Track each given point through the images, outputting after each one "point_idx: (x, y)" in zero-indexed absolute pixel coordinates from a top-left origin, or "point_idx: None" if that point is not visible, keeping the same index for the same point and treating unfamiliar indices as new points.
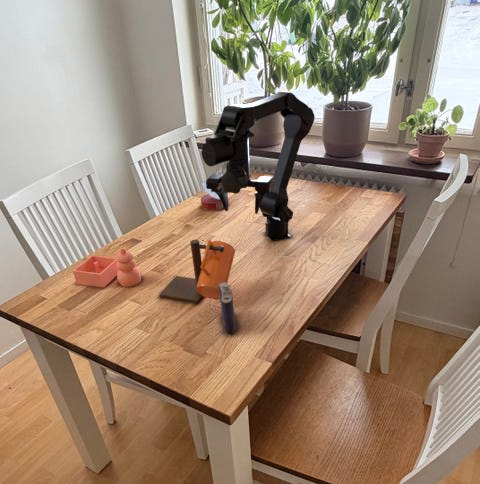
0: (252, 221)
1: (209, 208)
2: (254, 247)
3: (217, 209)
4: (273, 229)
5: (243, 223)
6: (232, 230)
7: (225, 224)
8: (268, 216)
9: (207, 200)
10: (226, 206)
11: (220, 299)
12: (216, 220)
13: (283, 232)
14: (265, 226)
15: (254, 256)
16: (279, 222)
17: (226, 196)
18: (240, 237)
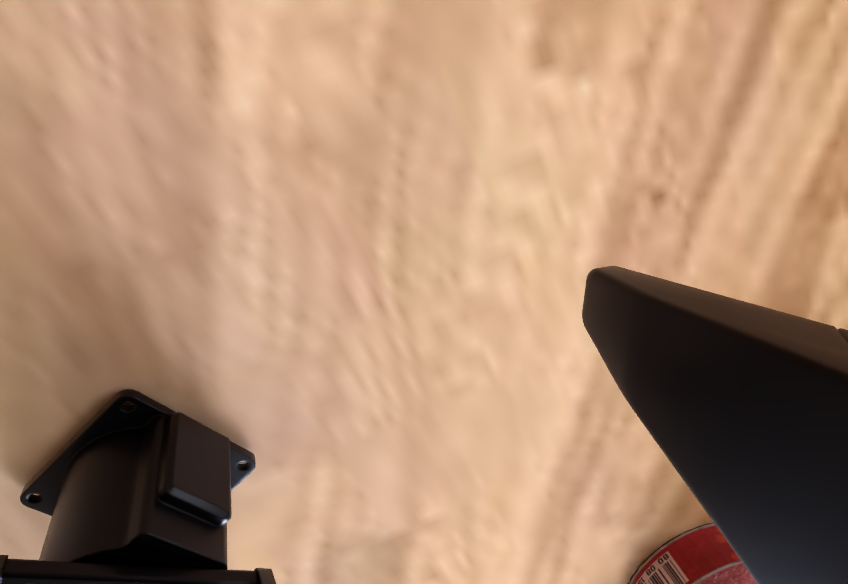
0: (421, 541)
1: (707, 536)
2: (217, 242)
3: (662, 550)
4: (130, 480)
5: (466, 499)
6: (502, 401)
7: (571, 444)
8: (200, 582)
9: (742, 580)
10: (643, 316)
11: None
12: (637, 459)
13: (58, 498)
14: (228, 488)
15: (115, 79)
16: (56, 559)
17: (773, 513)
18: (408, 341)
